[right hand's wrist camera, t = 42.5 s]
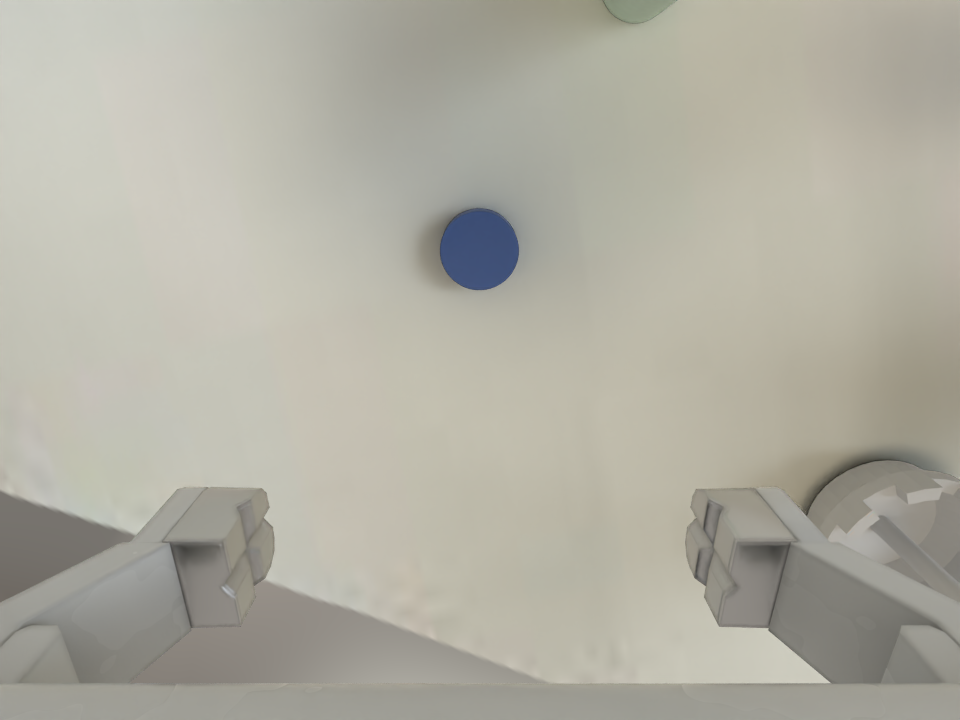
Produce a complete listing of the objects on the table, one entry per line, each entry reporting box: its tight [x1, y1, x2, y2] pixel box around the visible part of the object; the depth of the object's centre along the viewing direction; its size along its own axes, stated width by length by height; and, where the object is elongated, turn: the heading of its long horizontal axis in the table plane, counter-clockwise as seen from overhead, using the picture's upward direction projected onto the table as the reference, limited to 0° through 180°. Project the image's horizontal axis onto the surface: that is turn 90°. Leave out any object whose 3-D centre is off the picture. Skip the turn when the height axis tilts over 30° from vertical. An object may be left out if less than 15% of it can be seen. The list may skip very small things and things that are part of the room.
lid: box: [440, 208, 519, 290], centre depth 38 cm, size 5×5×2 cm
